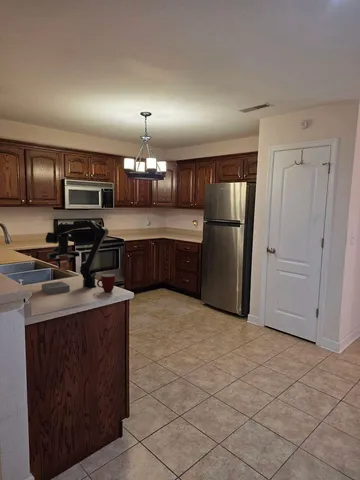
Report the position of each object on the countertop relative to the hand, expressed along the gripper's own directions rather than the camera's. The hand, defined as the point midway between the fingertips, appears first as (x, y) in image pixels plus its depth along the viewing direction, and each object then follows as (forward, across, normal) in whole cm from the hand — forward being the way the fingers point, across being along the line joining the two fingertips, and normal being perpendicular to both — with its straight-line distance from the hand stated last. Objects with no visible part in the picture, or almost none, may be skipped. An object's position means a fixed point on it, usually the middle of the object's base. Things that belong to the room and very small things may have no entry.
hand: (63, 268), depth 198 cm
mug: (+11, -15, +28) cm, 34 cm away
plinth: (+11, +8, +10) cm, 17 cm away
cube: (+1, 0, 0) cm, 1 cm away
